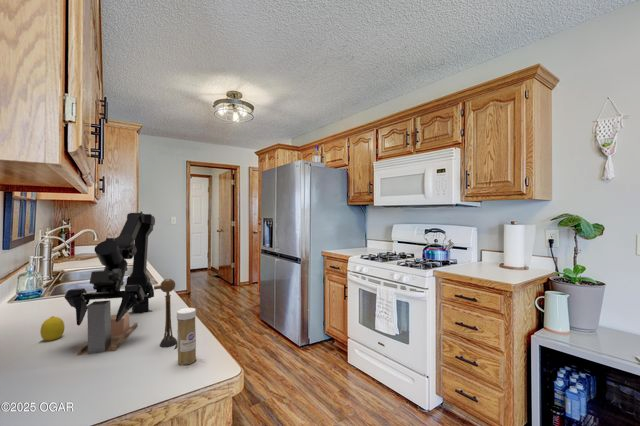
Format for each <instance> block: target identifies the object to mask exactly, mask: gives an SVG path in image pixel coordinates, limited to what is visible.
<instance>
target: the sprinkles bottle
mask: <svg viewBox="0 0 640 426" xmlns="http://www.w3.org/2000/svg"><path fill="white" fill-rule="evenodd" d="M196 316H197V310H196V308H194V307H185V308H181V309H178V310H177V311H176V319H177V320H176V321H177V331H176V332H177V333H176V334H177V338H176V340H177V343H178V347H177V364H178V365H181V366H184V365H190V364H193V363H194V362H195V361H197V356H196V354H197V353H196V351H197V350H196V348H197V336H196Z"/></svg>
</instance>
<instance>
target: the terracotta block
mask: <svg viewBox="0 0 640 426" xmlns="http://www.w3.org/2000/svg"><path fill="white" fill-rule="evenodd" d="M116 316H117V314H111V336H113V335H123V334H125V333H126V332H127V331H128V330H129V327H130V314H128V313H125V315H124V316H123V317H122V318H121V319H120V320H119V322H116Z"/></svg>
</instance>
